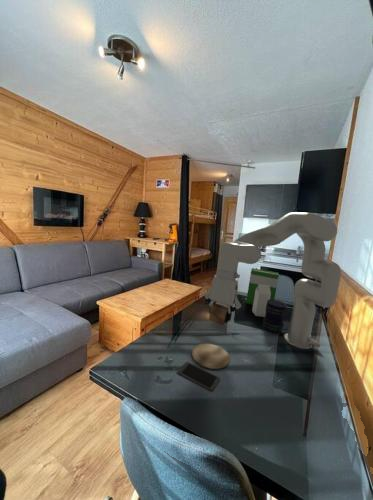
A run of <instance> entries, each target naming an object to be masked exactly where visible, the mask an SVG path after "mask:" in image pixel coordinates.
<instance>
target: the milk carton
mask: <svg viewBox="0 0 373 500" xmlns="http://www.w3.org/2000/svg"><path fill="white" fill-rule="evenodd" d="M270 296H271V291H270V286H268V285H260V284H258V287H257V288H256V291H255V297H254V302H253V305H252V309H251V311H252V314H254V316H256V317H263V318H264V317H265V314H266V305H267V300H270Z"/></svg>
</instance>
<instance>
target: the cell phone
mask: <svg viewBox="0 0 373 500" xmlns="http://www.w3.org/2000/svg"><path fill="white" fill-rule="evenodd" d="M176 374H177V375H179V376H180V377H183V378H185V379H187V380H189V381H190V382H192V383H195V384H196V385H198V386H200V387H201V388H204V389H205V390H208V391H210V392H214V391H215V389H216V387H217V386H218V385H219V383H220V381H221V378H220V376H218V375H216V374H214V373H211V372H210V371H207V370H205V369H204V368H201V367H199V366H196V364H193V363H191V362H188V361H186V362H184V363H183V365H182V366H181V367H180V368H179V369H178V370H177V372H176Z"/></svg>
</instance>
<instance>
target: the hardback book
mask: <svg viewBox="0 0 373 500" xmlns="http://www.w3.org/2000/svg"><path fill="white" fill-rule="evenodd" d="M279 275H280V274H279V272H276V271H275V272H274V271H270V270H263V269H260V268H259V269H258V268H253V267H252V268H251V270H250V276H249V282H248V288H247V295H246V301H245V304H249V305H252V306H253V302H254V297H255V291H256V288H257V287H258V284H260V285H268V286H270V291H271V296H270V300H275V297H276V291H277V285H278V281H279Z"/></svg>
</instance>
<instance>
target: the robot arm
mask: <svg viewBox="0 0 373 500" xmlns="http://www.w3.org/2000/svg"><path fill="white" fill-rule="evenodd" d="M294 234H296V235H297V236H298V237H299V238H300V240H301V241H302V243H303V248H304V249H303V256H302V262H301V273H302V275H304V276H305V277H307V278H300V279H299V280H297V281H296V282H295V285H294V290H293V291H294V292H293V293H294V297H293V298H294V301H293V307H292V310H291V311H292V312H291V317H290V322H289V327H288V332H287V333H285V334H284V335H283V339H284V341H285V342H286V343H288V344H289V345H291V346H293V347H295V348H297V349H301V350H302V349H303V350H309V349H310V350H311V349H312V347H313V346H315V347H318V348H320V347H321V342H318V341H319V340H317V339H314V338H312V331H313V330H312V329H313V325H314V322H315V321H314V320H315V316H316V305H317V306H319V307H322V308H331V307H333V305H334V304H335V303H336V301H337V297H338V293H339V287H340V282H341V276H342V270H341V267H340V265H339V264H338V263H337V262H335V261H331V260H326V259H325V255H326V245H325V244H326V243H325V242H330V241H332V240H333V239H335V238H336V236H337V235H338V227H337V224H336V223H335V222H334V221H333V220H331V219H328V218H325V217H323V216H321V215H318V214H315V213H313V212H297V211H295V212H289V213H286V214H285V215H283V216H282V217H280V218H278V219H276V220H275V221H274V222H273V223H270V224H268V225H267V226H265V227H263V228H259V229H256V230H253V231H251V232H248V233H245V234H244V235H241V236H240V237H238V238H236V239H235V240H234V241H233V242H231V241H223V242H221V243H220V246H219V247H220V248H219V253H218V258H217V267H216V273H215V275H214V277H213V279H212V282H211V285H210V288H209V291H207V292H206V293H204V295H203V296H204V297H205V299H206V301H207V303H208V306H209V310H208V313H209V316H210V309H211V305H212V304H214V303H216V302H218V303H221V304H224V305H226V306H227V311H228V312H227V313H226V318H225V324H228V322H230V321H231V319H232V315H233V312H235V311H237V310H238V309H241V308H242V304H241V302H240V300H239V298H238V293H239V281H238V279H240V277H241V275H240V274H239V273H238V267H239V263H244V264H247V265H253V264H256V263H258V262H259V261H260V260H261V258H262V250H260V248H259V247H271V246H277V245H279V244H280V245H281V243H283V242H284V241H286V240H287V239H289V238H290V237H291V236H294ZM308 278H309V279H308ZM311 279H313V280H311ZM315 280H316V281H315ZM234 304H235V306H233V305H234Z"/></svg>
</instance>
